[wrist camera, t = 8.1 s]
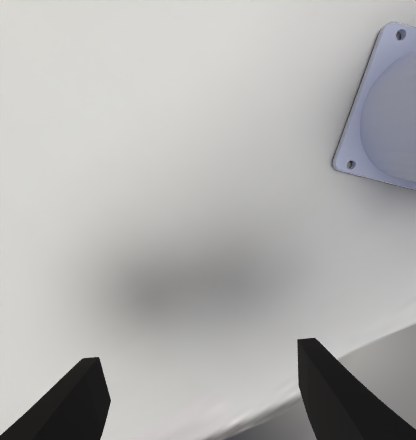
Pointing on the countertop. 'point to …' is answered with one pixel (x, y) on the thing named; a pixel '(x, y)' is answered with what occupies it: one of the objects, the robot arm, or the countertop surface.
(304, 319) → the countertop surface
